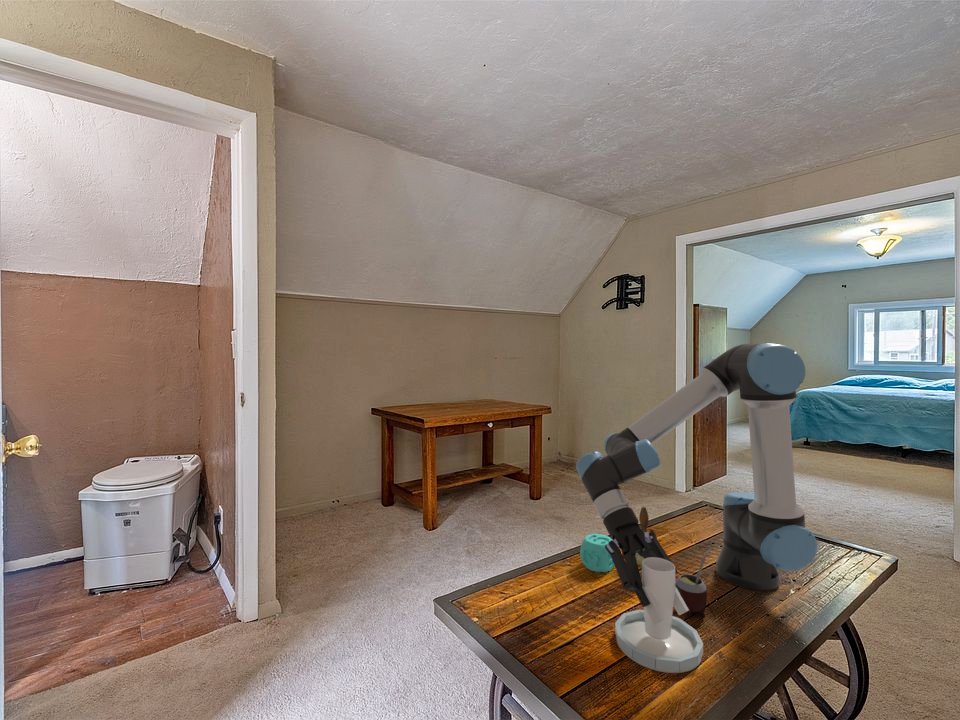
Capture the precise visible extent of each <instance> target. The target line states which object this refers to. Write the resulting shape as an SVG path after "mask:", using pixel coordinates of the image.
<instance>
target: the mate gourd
mask: <svg viewBox="0 0 960 720" xmlns="http://www.w3.org/2000/svg"><path fill="white" fill-rule="evenodd" d="M712 550H713V548H712V547H710V548H709V549H708V550H707V551H705V553H704V555H703V556H702V557H701V560H700V564H699V568H698V572H697V575H693V574H682V575H680V576H679V577H677V578H676V584H677V586H678V588H679V590H680V592H681V594H680V595H681V597H682V599H683V600H684V602H685V604H686V606H687V607H688V609H689V611H687V612H686V613H687V614H686V619H688V620H691V618H692V617H693V615H694V616H699V617H701V618H705V617H706V614H705V611H706V610H707V606H708V595H709V594H708V590H707V586H706V584H705V583H704V581H703V579H701V578H700V577H701V574H702V570H703V566H704V564H705V562H706V558H707V557H708V555H709V554H710V553H711V551H712Z"/></svg>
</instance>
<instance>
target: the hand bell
mask: <svg viewBox="0 0 960 720" xmlns="http://www.w3.org/2000/svg"><path fill="white" fill-rule="evenodd" d="M638 520H639V523H640V528H641V529H642V530H643V531H644V532H648V525H649V513H648V510H647V507H646V506H641V509H640V512H639V519H638ZM644 549H645V548H644ZM644 549H643V550H644ZM636 560H637V564H638V566H641V567H642V561H643V560H644V558H643V557H642V556H640V555H639V554H638V553H636Z"/></svg>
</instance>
